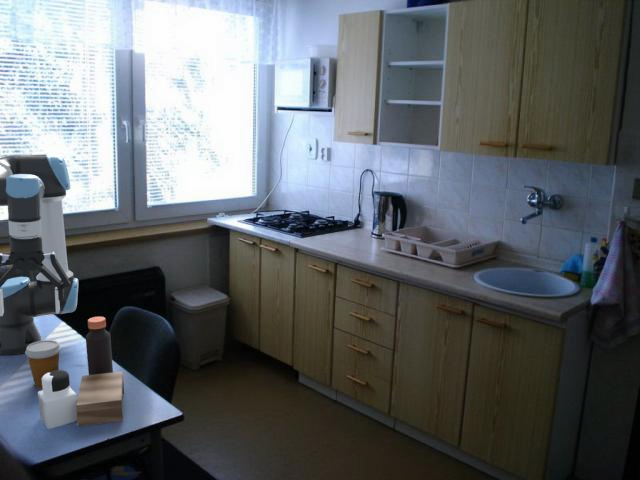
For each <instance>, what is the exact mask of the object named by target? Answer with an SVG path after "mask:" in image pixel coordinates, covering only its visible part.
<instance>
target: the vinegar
mask: <svg viewBox="0 0 640 480" xmlns="http://www.w3.org/2000/svg"><path fill="white" fill-rule="evenodd" d="M106 320H107V319H106V317H104V316H93V317H90V318H89V319H87V328H88V330H89V331H88V333H87V334H86V336H85V344H86V345H85V347H86V358H87V359H86V361H87V370H88V375H94V374H104V373H113V372H114V367H113V353H112V341H111V333H110V332H109V331H108V330H106V328H107V321H106Z"/></svg>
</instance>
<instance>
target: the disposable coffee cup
mask: <svg viewBox="0 0 640 480" xmlns="http://www.w3.org/2000/svg"><path fill="white" fill-rule="evenodd" d="M61 348H62V347H61V345H60V344H59V342H58V341H57V340H52V339H47V340H41V341H38V342H34V343H32V344H30V345H28V346H27V349H26V351H25V356H26V357H27V360H28V365H29V367H30V371H31V376H32V380H33V383H34V384H33V385H34V387H35V388H37V389H43V388H42V377H43V376H44V375H45V374H47V373H49V372H51V371H57V370H59V365H60V364H59V363H60V352H61V351H60V350H61Z"/></svg>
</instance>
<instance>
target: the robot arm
mask: <svg viewBox="0 0 640 480" xmlns="http://www.w3.org/2000/svg"><path fill="white" fill-rule="evenodd" d="M70 189H71V183H70V174H69V171H68V166H67V163H66V161H65V159H64V157H63V156H62V155H61V154H53V153H52V154H49V153H44V154H40V153H39V154H21V155H19V154H18V155H17V154H15V155H14V154H13V155H6V156H1V157H0V207H7V215H8V217H7V219H8V221H7V222H8V234H9V250H10V252H9V254H4V253H3V252H0V268H1V266H2V265H3V264H5V263H6V262H7V260H8V261H9V262H10V263H11V264H12V265H11V266H10V268H8V270H7V271H6V272H5V273H4V275H2V277H1V278H0V355H2V356H3V355H4V356H7V355H8V356H11V355H20V354H24V353H25V351H26V349H27V346H28V345H30V344H32V343H34V342H38V341H42V336H41V334H40V332H39V330H38V327H37V326H36V323H35V320H34V319H35V318H34V317H37V316H50V315H59V314H60V315H63V314H68V313H73V312H75V311H76V309H77V305H78V295H79V294H78V293H79V279H78V278H76V277H74V272H73V271H71V270H70V269H69V266H68V256H67V244H66V243H67V242H66V233H65V232H66V231H65V223H64V222H65V220H64V211H63V203H62V202H63V199H65V197H66V196H67V191H69V190H70ZM17 270H18V271H20V272H26V271H28V272H29V271H30V272H34V271H36V270H37V271H38V272H39V273H38V274H37V275H36V276H35V277H36V278H35V279H36V280H35V281H31V279H30V277H28V276H16V277H12V276H13V274H14V273H15V272H16V271H17Z"/></svg>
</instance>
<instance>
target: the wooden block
mask: <svg viewBox="0 0 640 480" xmlns="http://www.w3.org/2000/svg"><path fill="white" fill-rule="evenodd" d="M124 394H125V384H124V371H113V373H104V374H94V375H89V374H86V375H81V379H80V384H79V390H78V395H77V404H76V408H77V419H78V421H77V427H78V428H79V427H85V426H94V425H102V424H110V423H116V422H123V421H124V413H123V395H124Z"/></svg>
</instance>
